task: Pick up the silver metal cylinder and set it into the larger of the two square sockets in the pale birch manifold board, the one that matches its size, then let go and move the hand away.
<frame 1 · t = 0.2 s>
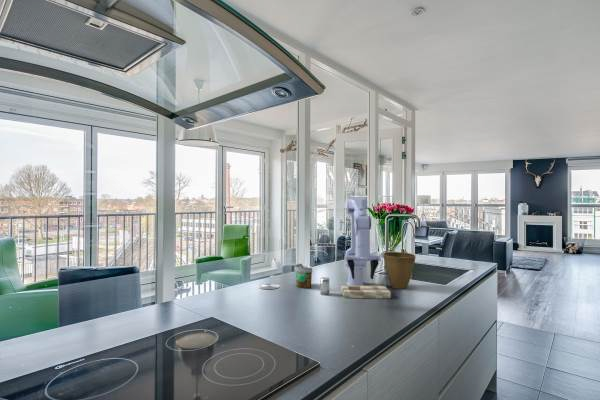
hand: (362, 278, 130), 10 cm above the worktop, tool pointing down, fingers open, 7 cm apart
plant pot: (399, 287, 154), on the worktop
manifold board: (365, 294, 142), on the worktop
food container: (300, 287, 154), on the worktop
silver metal cylinder: (324, 294, 142), on the worktop
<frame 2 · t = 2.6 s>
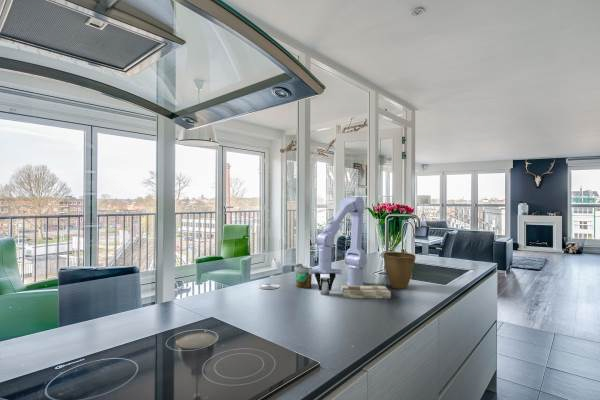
hand: (324, 290, 142), 2 cm above the worktop, tool pointing down, fingers closed on silver metal cylinder, 4 cm apart
silver metal cylinder: (324, 294, 142), on the worktop, touching gripper
everything else where it was.
when the fingers open (3 cm above the worktop, at t = 6.5 s): silver metal cylinder drops 1 cm, resting in manifold board.
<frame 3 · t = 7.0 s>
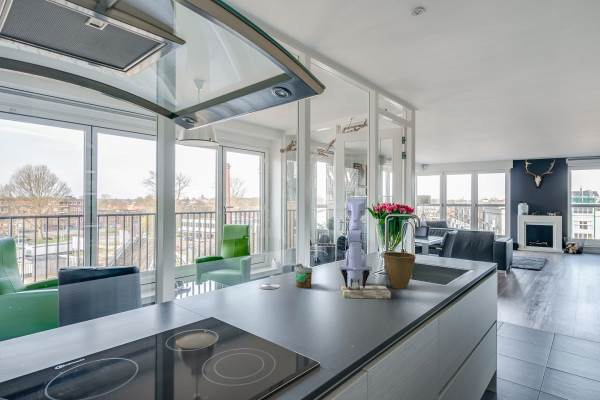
hand: (355, 287, 142), 3 cm above the worktop, tool pointing down, fingers open, 7 cm apart
silver metal cylinder: (354, 294, 142), resting in manifold board
everything else where it was.
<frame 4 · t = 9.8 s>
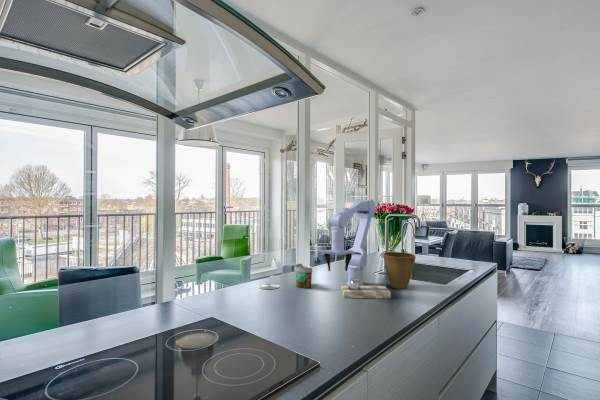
hand: (337, 270, 145), 10 cm above the worktop, tool pointing down, fingers open, 7 cm apart
nothing on the worktop moved.
at the end: silver metal cylinder 0.1 cm from the target spot on the manifold board, point 0.0 cm above the manifold board's base; silver metal cylinder tilted 0°; the gripper is holding nothing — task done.
